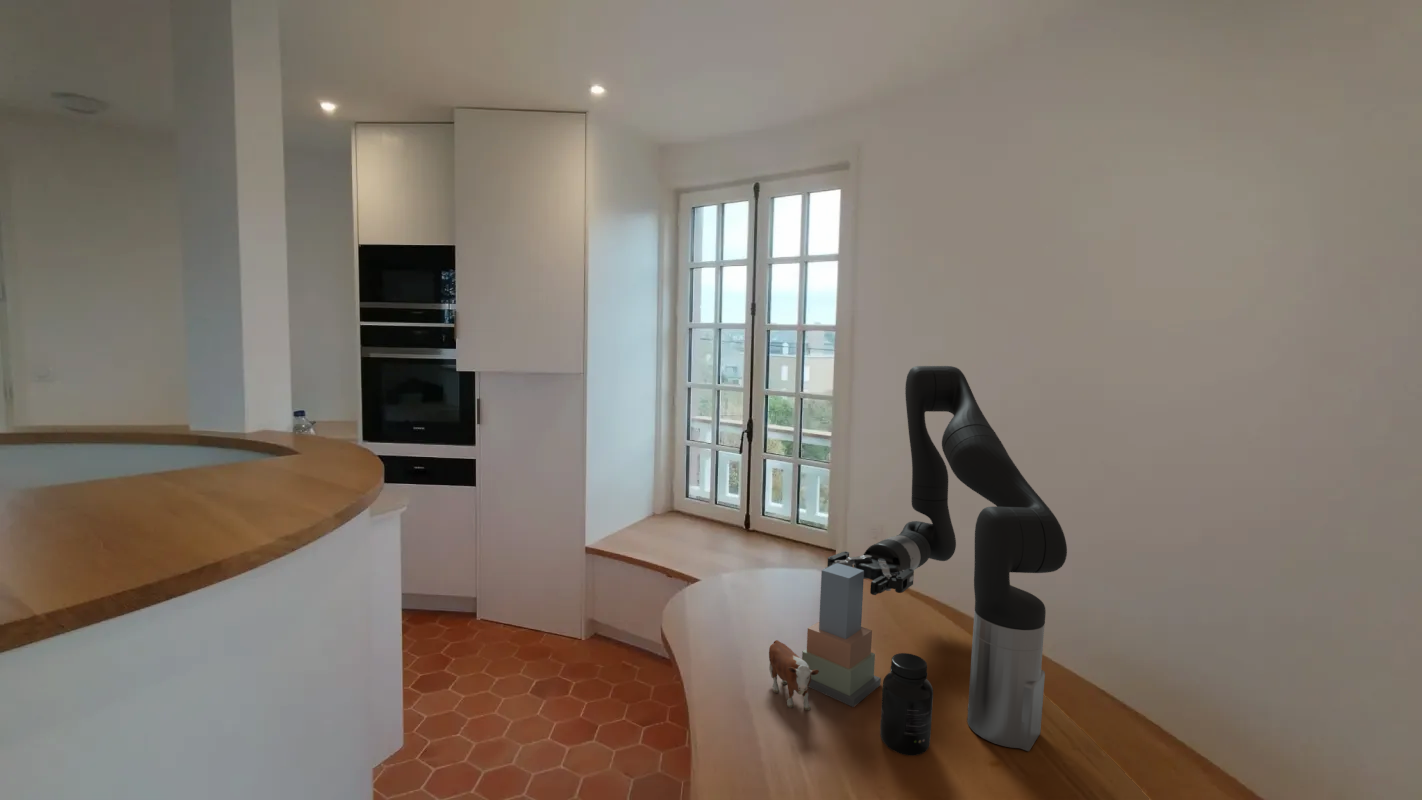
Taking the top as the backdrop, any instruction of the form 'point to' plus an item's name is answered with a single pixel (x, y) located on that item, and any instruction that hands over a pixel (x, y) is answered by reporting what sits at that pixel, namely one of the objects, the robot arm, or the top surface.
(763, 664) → the top surface
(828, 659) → the brick tower
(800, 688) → the bull figurine
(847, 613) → the column brick
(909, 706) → the supplement bottle
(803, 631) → the top surface
